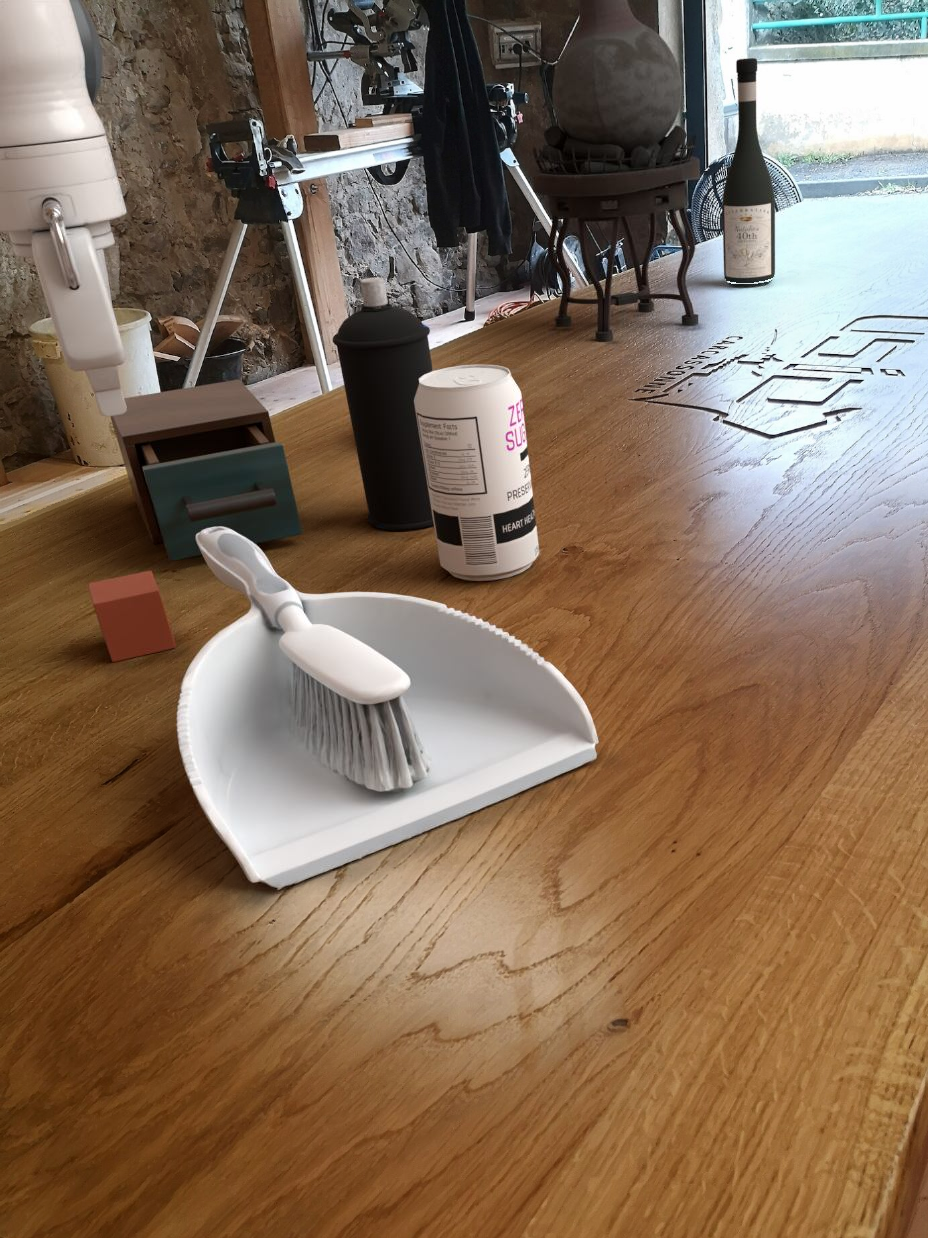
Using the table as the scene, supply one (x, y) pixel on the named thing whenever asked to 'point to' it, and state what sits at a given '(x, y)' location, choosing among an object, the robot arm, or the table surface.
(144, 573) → the block
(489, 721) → the dustpan and brush
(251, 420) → the cabinet
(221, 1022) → the table surface
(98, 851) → the table surface
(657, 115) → the brazier
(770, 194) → the wine bottle
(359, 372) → the aerosol can
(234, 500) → the drawer
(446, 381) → the supplement can
